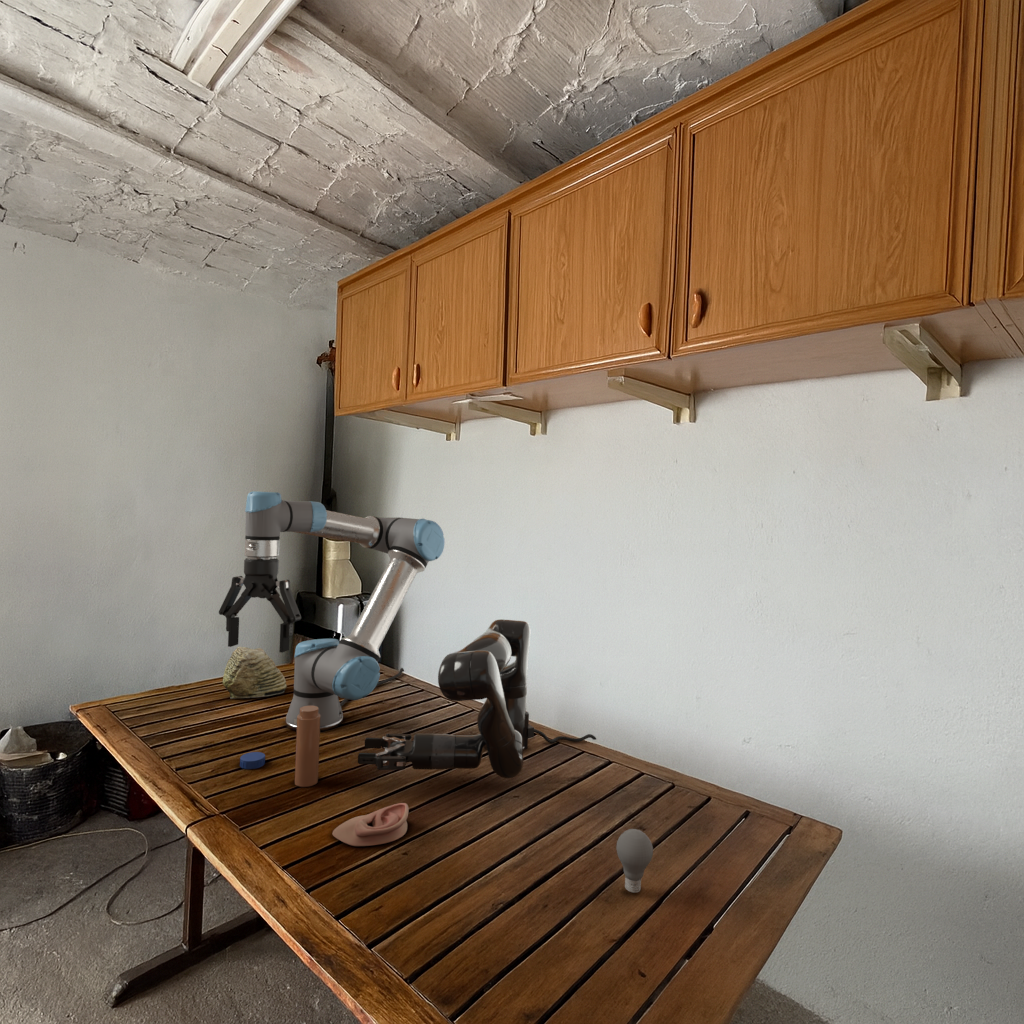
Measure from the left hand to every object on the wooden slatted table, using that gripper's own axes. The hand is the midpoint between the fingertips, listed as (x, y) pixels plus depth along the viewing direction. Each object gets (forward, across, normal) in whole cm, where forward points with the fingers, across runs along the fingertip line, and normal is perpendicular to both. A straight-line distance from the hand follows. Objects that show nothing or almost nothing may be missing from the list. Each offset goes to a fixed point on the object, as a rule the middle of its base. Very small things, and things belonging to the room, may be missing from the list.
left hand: (258, 648), depth 148 cm
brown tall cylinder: (+27, +16, -4) cm, 32 cm away
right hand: (+20, +28, -1) cm, 34 cm away
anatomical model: (+27, +39, -19) cm, 51 cm away
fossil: (+27, -31, +44) cm, 60 cm away
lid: (+26, 0, 0) cm, 26 cm away
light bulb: (+27, +88, -23) cm, 95 cm away
